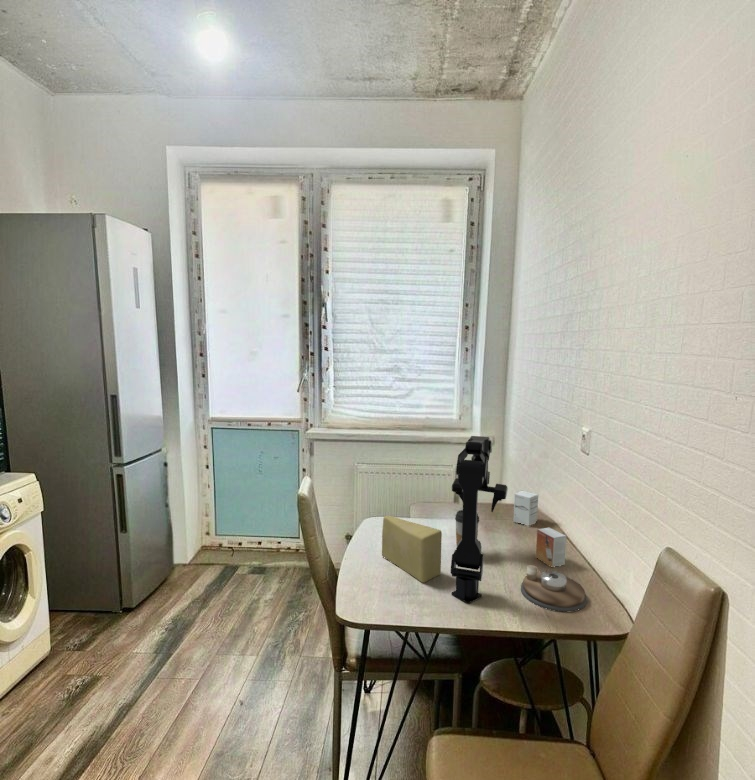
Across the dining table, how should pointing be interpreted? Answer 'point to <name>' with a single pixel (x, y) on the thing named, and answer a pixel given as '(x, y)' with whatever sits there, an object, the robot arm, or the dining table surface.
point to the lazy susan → (560, 599)
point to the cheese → (412, 547)
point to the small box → (551, 547)
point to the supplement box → (525, 507)
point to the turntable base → (550, 605)
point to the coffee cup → (459, 525)
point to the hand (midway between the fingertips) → (479, 509)
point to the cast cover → (553, 581)
